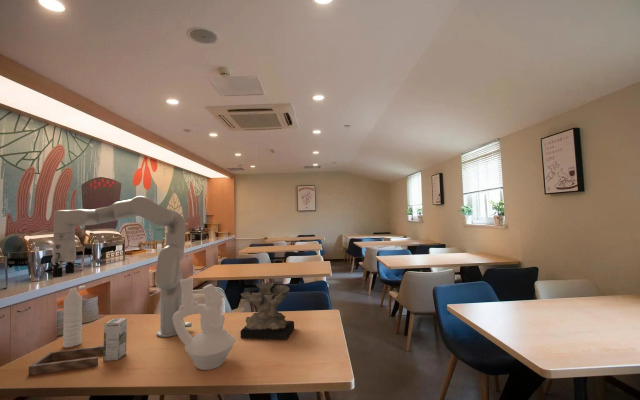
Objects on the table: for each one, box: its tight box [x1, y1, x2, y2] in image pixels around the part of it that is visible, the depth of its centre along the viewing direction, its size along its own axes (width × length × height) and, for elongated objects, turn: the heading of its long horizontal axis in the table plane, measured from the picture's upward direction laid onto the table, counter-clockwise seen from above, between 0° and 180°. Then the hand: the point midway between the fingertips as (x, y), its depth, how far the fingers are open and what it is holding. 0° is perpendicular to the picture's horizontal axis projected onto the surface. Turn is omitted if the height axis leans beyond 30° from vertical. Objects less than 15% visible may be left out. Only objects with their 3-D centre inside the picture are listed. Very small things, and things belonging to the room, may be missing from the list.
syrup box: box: [102, 317, 128, 362], centre depth 121 cm, size 6×6×14 cm
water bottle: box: [62, 285, 87, 349], centre depth 136 cm, size 9×6×25 cm
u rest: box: [28, 345, 104, 376], centre depth 117 cm, size 21×12×3 cm, turn 104°
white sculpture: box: [172, 277, 236, 371], centre depth 113 cm, size 18×22×32 cm
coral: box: [239, 281, 295, 341], centre depth 144 cm, size 25×20×22 cm
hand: (63, 275), depth 136 cm, fingers open, 9 cm apart
